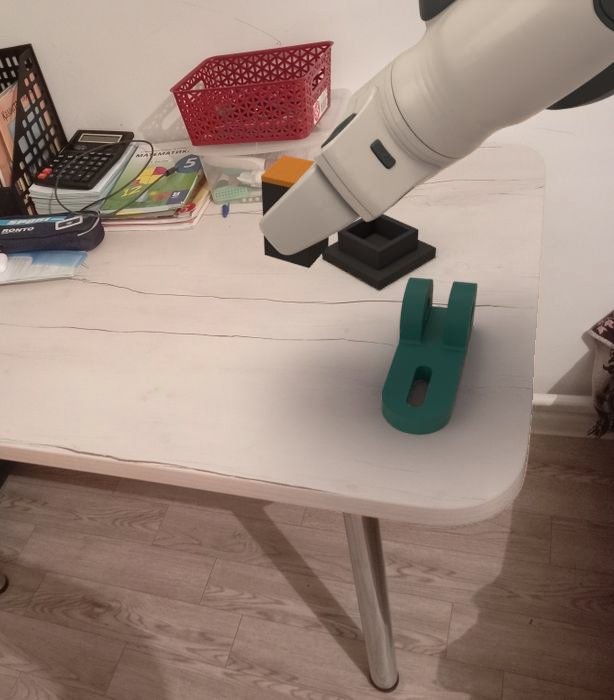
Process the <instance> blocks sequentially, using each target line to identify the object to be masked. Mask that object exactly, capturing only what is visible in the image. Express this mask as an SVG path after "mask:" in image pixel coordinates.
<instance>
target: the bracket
mask: <svg viewBox="0 0 614 700" xmlns="http://www.w3.org/2000/svg"><path fill="white" fill-rule="evenodd" d="M477 294H478V283H476V282H466V281H457V280H454V281H453V282H452V285H451V288H450V292H449V296H448V301H447V305H446V306H447V307H445V306H436V305H435V306H434V305H433V301H434V279H432V278H423V277H412V276H411V277H409V278H408V280H407V282H406V285H405V289H404V293H403V297H402V303H401V309H400V316H399V339H398V343H397V346H396V349H395V353H394V354H393V357H392V361H391V364H390V366H389V369H388V372H387V375H386V378H385V381H384V384H383V387H382V391H381V414H382V416H383V418H384V420H385V421H386V422H387V423H388V424H389V425H390V426H391V427H392V428H394V429H396V430H398V431H400V432H402V433H404V434H405V433H406V434H410V435H428V434H432V433H436V432H438V431H440V430H442V429H443V428H445V427H446V425H448V423H449V422H450V420H451V418H452V413H453V409H454V405H455V400H456V396H457V392H458V388H459V384H460V380H461V376H462V372H463V367H464V363H465V358H466V355H467V352H468V348H469V343H470V338H471V335H472V330H473V328H474V327H473V326H474V319H475V312H476V311H475V310H476V304H477ZM419 381H426V382H428V387H427V390H426V394H425V397H424V401H423V404H422V405H419V406H413V405H410V402H411V398H412V395H413V391H414V389H415V385H416V384H417V382H419Z"/></svg>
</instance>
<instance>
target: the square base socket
mask: <svg viewBox="0 0 614 700" xmlns="http://www.w3.org/2000/svg"><path fill="white" fill-rule="evenodd" d="M419 231H420V230H419V228H416V227H415V226H412V225H410V224H407V223H405V222H403V221H400V220H398V219H396V218H394V217H391V216H389V215H387V214H385V213H384V214H382V215H381V216H379V217H377V218H375V219H374V220H372V221H369V222H366V221H364V220H363V219H362V218H361V217H360V218H358V219H357V220H356V221H354V222H353V223H351V224H350V225H348V226H347V227H345V228H344V229H342V230H340V231H338V232H337V241H335V242H334V243H331V244H330V245H328V247H327V248H326V250H325V251H324V252H323V253H322V254H321V258H322V260H324V261H326V262H327V263H329V264H331V265H333V266H335V267H337V268H338V269H339V270H342V271H344V272H346V273H347V274H349V275H351V276H352V277H354V278H356V279H358V280H359V281H361V282H363V283H364V284H367V285H368V286H370V287H372V288H373V289H375V290H378V291H381V290H382V289H383V288H386V287H387V286H389V285H391V284H392V283H394V282H395V281H398V280H399V279H401V278H403V277H404V276H406V275H407V274H409V273H411V272H412V271H414V270H416V269H418V268H419V267H421V266H423V265H425V264H426V263H428V262H429V261H431V260H432V259H434V258H436V256H437V247H435V246H433V245H431V244H429V243H427V242H424V241H422V240H420V239H419Z"/></svg>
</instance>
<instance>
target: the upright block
mask: <svg viewBox="0 0 614 700" xmlns="http://www.w3.org/2000/svg"><path fill="white" fill-rule="evenodd" d="M314 162H315V160H309V159H303V158H300V157H294V156H289V155H282V156H281V157H279V158H278V160H276V161H275V162H274V163H273V164H271V166H270V167H268V168H267V169H266V170H265V171H264V172H263V173H262V174H261V176H260V180H261V204H262V217H263V216H264V215H265V214H266V213H267V212H268V211H269V209H270V208H271V207H272V206H273V205H274V204H275V203H276V202H277V201H278V200H279V199H280V198H281V197H282V196H283V195H284V194H285V193H286V192H287V191H288V190H289V189H290V188H291V187H292V186H293V185H294V184H295V183H296V182H297V181H298V180H299V179H300V178H301V177H302V176H303V175H304V173H305V172H306V171H307V170H308V169H309V168H310V167H311V166H312V164H313V163H314ZM329 240H330V236H329V237H327V238H325V239H323V240H321V241H319V242H318V243H316V244H314V245H312V246H310V247H307V248H305V249H303V250H301V251H299V252H297V253H295V254H292V255H283V254H281V253H280V252H278V251H277V250H276V248H275V247H274V246H273V245H272V244H271V243H270V242H269V241H268V239H267V238H266V237H265V236H264V235H263V248H264V249H263V250H264V251H263V252H264V256H266V257H270V258H273V259H277V260H280V261H283V262H287V263H289V264H290V263H291V264H293V265H296V266H300V267H303V268H306V269H310V268H311V267H312V266H313V265H314V263H315V262H316V261H317V260H318V259H319V258H320V257H321V256H322V253H323V252H324V251H325V250H326V248H327V247H328V246H329V242H330V241H329Z"/></svg>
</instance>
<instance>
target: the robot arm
mask: <svg viewBox="0 0 614 700" xmlns="http://www.w3.org/2000/svg"><path fill="white" fill-rule="evenodd" d="M418 11H419V17H420V19H421V20H422V22H424V24H425V31H424V33H423V35H422V37H421V39H419V40H418V42H417V43H416V44H414V45H413V46H411V47H410V48H407V49H406V50H404V51H402V52H401V53H400V54H399V55H397V56H396V57H395V58H394V59H393V60H391V61H390V62H389V63H388V64H387V65H385V66H384V67H383V68H382V69H380V70H379V71H378V72H377V73H376V74H375V75H374V76H373V77H371V78H370V79H369V80H368V81H367V82H365V83H364V84H363V85H362V86H361V87H360V88H358V89H357V90H356V91H355V92H354V93H353V94H352V95H351V96H350V98H349V99H348V102H347V104H346V108H345V111H344V112H343V114H342V115H341V117H340V120H339V121H338V123H337V125H336V126H335V128H334V130H333V131H332V132H331V134H330V135H329V136H328V137H327V139H325V141H324V142H323V143H322V144H321V146H320V148H319V149H318V150H317V151H316V152H315V153H314V155H313V161H315V162H314V163H313V164H312V166H311V167H310V168H309V169H308V170H307V171H306V172H305V173H304V175H303V176H302V177H301V178H300V179H299V180H298V181H297V182H296V183H295V184H294V185H293V186H292V187H291V188H290V189H289V190H288V191H287V192H286V193H285V194H284V195H283V196H282V197H281V198H280V199H279V200H278V201H277V202H276V203H275V204H274V205H273V206H272V207H271V208H270V209H269V211H268V212H267V213H266V214H265V215H264V216H263V215H262V217H261V218H260V220H259V222H258V227H259V230H260V232H261V233H262V234H263V237H264V236H265V237H266V238H267V239H268V241H269V242H270V243H271V244H272V245H273V246H274V247H275V248H276V250H277V251H278V252H280V253H281V254H283V255H292V254H295V253H297V252H299V251H301V250H303V249H305V248H307V247H310V246H312V245H314V244H316V243H318V242H319V241H321V240H323V239H325V238H327V237H329V238H330V237H331V236H333V235H335V234H336V233H337V232H338V231H340V230H342V229H344V228H345V227H347V226H348V225H350V224H351V223H353V222H355V221H357V220H359V219H360V218H362V219H363V220H364V221H366V222H369V221H372V220H374V219H375V218H377V217H379V216H381V215H382V214H384V215H385V213H386V212H387V211H388V210H390V209H391V208H392V207H394V206H395V205H396V204H397V203H399V201H400V200H402V199H403V198H404V197H405V196H406V195H408V194H409V193H410V192H411V191H413V189H415V188H418V187H419V186H421V185H423V184H424V183H426V182H428V181H429V180H431V179H433V178H434V177H437V175H439V174H440V173H441V172H442V171H444V170H446V169H447V168H449V167H451V166H452V165H455V164H456V163H457V162H459V161H461V160H463V159H465V158H466V157H468V156H470V155H471V154H473V153H474V152H475V151H477V150H478V149H479V148H480V147H481V145H483V144H484V142H485V141H486V140H487V139H488V138H490V137H491V136H492V135H494V134H495V133H497V132H499V131H501V130H503V129H506V128H509V127H512V126H516V125H519V124H522V123H524V122H526V121H528V120H530V119H531V118H533V117H535V116H537V115H538V114H539V113H541V112H543V111H545V110H547V111H561V110H568V109H575V108H576V109H577V108H580V107H584V106H588V105H592V104H595V103H598V102H601V101H603V100H607V99H608V98H610V97H613V96H614V0H418ZM337 234H338V233H337Z"/></svg>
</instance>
